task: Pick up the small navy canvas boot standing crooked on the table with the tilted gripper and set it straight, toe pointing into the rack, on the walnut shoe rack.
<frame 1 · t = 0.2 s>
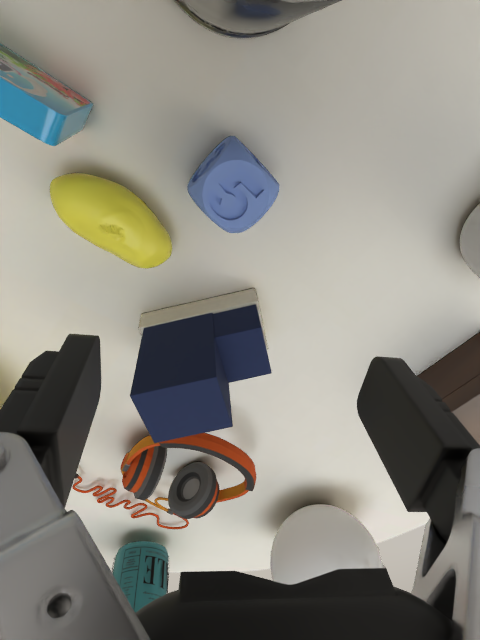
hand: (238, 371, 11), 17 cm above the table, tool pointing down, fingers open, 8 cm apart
decorative ball: (311, 510, 48), on the table
lemon: (120, 210, 26), on the table
headphones: (165, 461, 40), on the table
shoe rack: (477, 400, 39), on the table
boot: (187, 328, 31), on the table
decorative dice: (230, 177, 25), on the table
beverage bottle: (144, 539, 48), on the table
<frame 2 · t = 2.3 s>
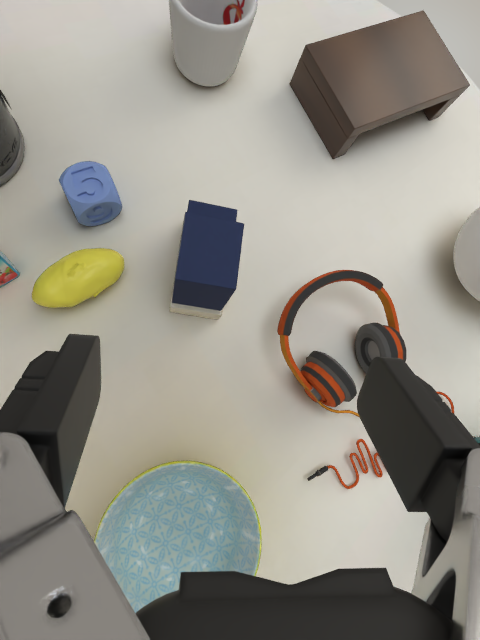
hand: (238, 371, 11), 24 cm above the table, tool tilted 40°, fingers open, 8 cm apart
bowl: (176, 521, 33), on the table
decorative ball: (474, 271, 44), on the table
lemon: (83, 284, 35), on the table
headphones: (347, 378, 38), on the table
cup: (199, 55, 42), on the table
shoe rack: (366, 101, 45), on the table
boot: (198, 285, 37), on the table
decorative dice: (95, 206, 37), on the table
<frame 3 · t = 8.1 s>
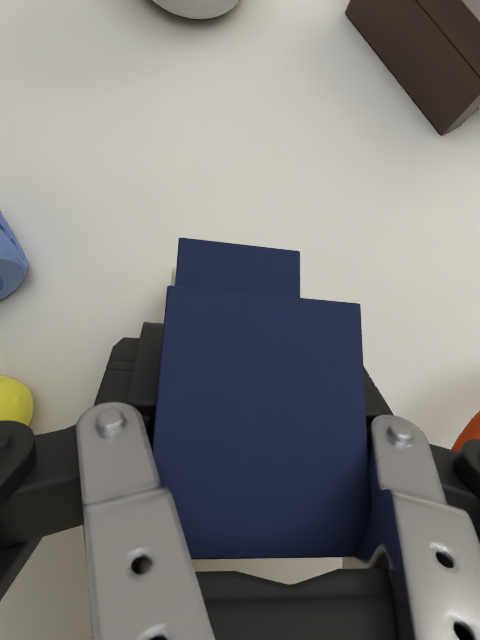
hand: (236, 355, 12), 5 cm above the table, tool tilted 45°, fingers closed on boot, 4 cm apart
shoe rack: (477, 36, 26), on the table
boot: (215, 421, 16), on the table, touching gripper
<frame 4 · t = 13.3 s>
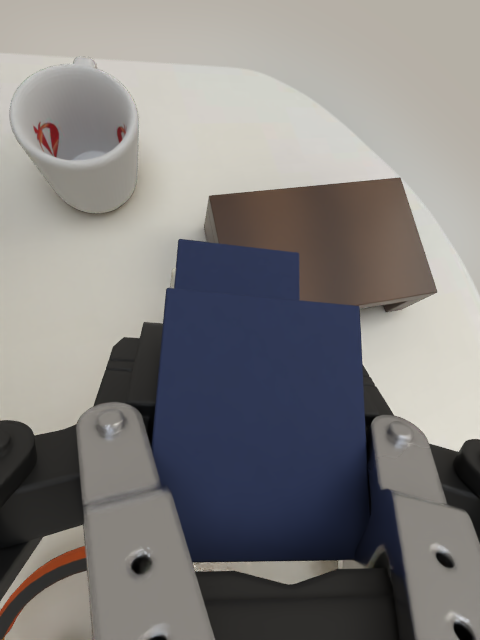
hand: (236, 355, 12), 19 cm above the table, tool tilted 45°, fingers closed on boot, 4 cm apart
cup: (98, 170, 33), on the table
shoe rack: (304, 269, 34), on the table
boot: (214, 423, 16), point 14 cm above the table, touching gripper
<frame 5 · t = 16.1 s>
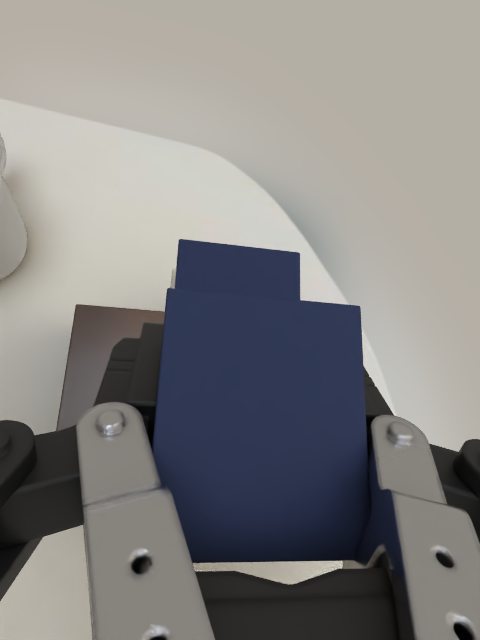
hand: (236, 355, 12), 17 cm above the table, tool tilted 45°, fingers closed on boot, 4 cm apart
shoe rack: (198, 400, 28), on the table
boot: (215, 423, 16), point 12 cm above the table, touching gripper
when the fingers open (10 cm above the table, at t = 18.4 s): boot stays where it is, resting on shoe rack.
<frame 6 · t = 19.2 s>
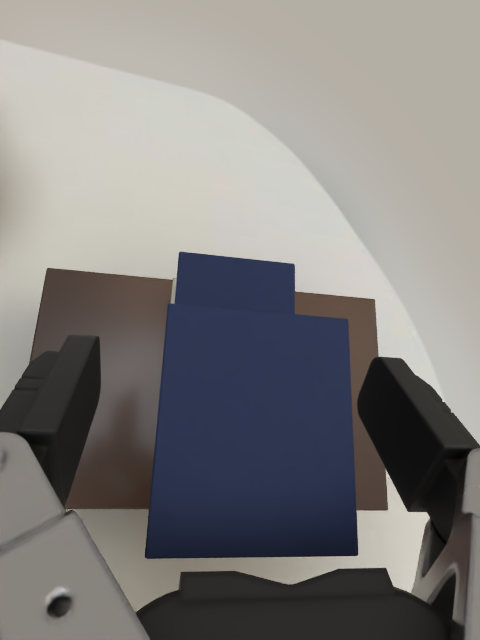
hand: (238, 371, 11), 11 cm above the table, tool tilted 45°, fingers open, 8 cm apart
shoe rack: (206, 396, 22), on the table
boot: (214, 426, 17), point 5 cm above the table, touching shoe rack
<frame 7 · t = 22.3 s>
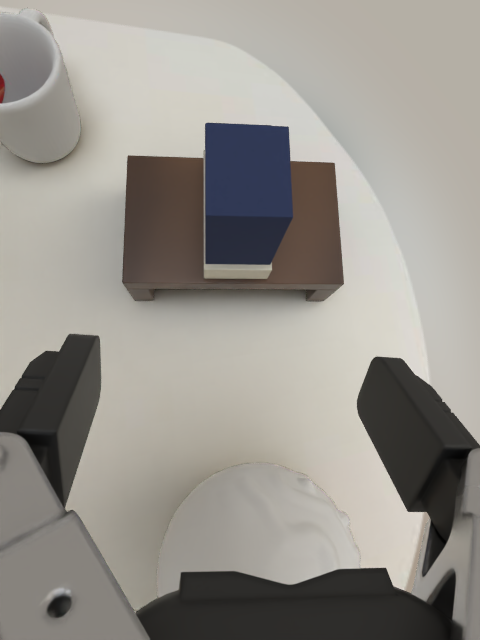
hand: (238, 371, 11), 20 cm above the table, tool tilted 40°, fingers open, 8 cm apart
decorative ball: (247, 534, 30), on the table
cup: (50, 123, 35), on the table
shoe rack: (230, 245, 34), on the table
boot: (235, 240, 29), point 5 cm above the table, touching shoe rack
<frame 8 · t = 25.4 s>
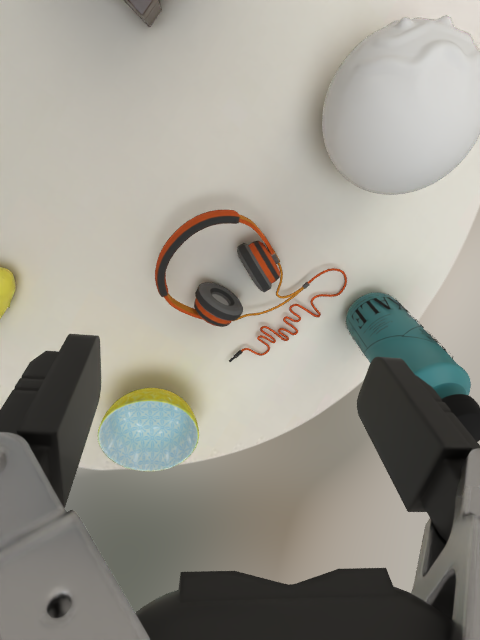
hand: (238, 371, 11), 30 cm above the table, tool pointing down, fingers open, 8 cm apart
bowl: (154, 401, 50), on the table
decorative ball: (369, 111, 36), on the table
headphones: (244, 280, 43), on the table
beverage bottle: (365, 308, 47), on the table
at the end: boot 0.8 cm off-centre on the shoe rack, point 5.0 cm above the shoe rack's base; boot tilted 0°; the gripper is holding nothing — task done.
